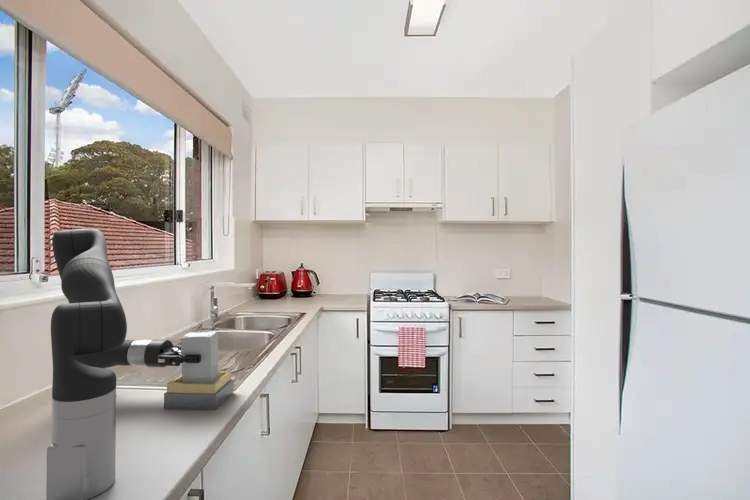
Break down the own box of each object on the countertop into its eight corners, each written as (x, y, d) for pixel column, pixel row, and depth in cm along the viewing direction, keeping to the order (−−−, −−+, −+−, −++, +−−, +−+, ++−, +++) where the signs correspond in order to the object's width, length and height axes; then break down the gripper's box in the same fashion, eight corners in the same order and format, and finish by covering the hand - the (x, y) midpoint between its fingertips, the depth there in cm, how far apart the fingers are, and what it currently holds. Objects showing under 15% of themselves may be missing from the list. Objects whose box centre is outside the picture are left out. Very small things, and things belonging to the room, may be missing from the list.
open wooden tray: (215, 409, 104) (216, 385, 104) (163, 408, 104) (164, 384, 104) (237, 389, 119) (237, 367, 119) (191, 388, 119) (191, 366, 119)
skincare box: (219, 382, 113) (219, 331, 113) (211, 390, 107) (211, 336, 107) (189, 382, 113) (190, 331, 113) (179, 390, 107) (180, 335, 106)
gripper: (134, 346, 103) (195, 347, 103) (165, 334, 117) (218, 335, 117) (134, 374, 103) (195, 376, 103) (164, 359, 117) (218, 360, 117)
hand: (207, 354), depth 110 cm, fingers open, 8 cm apart
